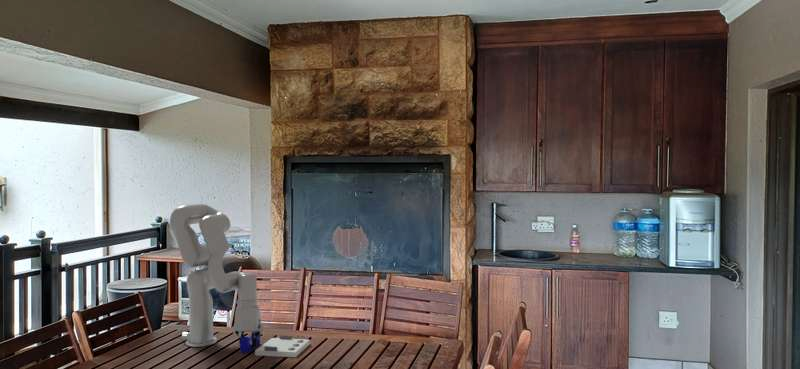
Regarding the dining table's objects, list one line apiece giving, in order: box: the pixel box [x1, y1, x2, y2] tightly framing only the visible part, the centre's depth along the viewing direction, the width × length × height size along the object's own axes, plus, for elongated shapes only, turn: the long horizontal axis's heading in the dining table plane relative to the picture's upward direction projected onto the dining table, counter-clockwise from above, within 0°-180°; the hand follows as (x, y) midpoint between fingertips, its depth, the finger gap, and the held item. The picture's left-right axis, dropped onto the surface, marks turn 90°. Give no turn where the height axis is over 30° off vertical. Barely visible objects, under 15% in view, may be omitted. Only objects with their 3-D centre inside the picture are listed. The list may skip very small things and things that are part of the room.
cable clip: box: [239, 329, 261, 354], centre depth 225 cm, size 12×4×6 cm, turn 170°
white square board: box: [254, 334, 311, 358], centre depth 223 cm, size 17×17×4 cm
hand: (248, 346), depth 225 cm, fingers closed on cable clip, 4 cm apart
